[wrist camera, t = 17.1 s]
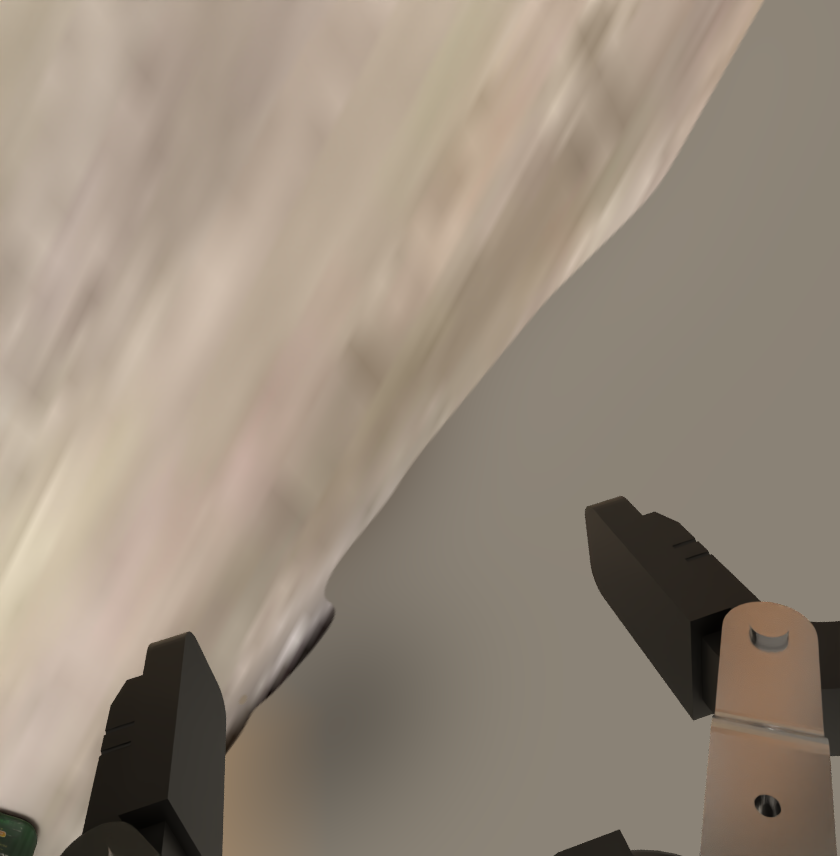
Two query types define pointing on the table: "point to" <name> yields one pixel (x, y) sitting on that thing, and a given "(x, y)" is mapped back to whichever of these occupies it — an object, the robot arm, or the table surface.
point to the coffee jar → (16, 836)
